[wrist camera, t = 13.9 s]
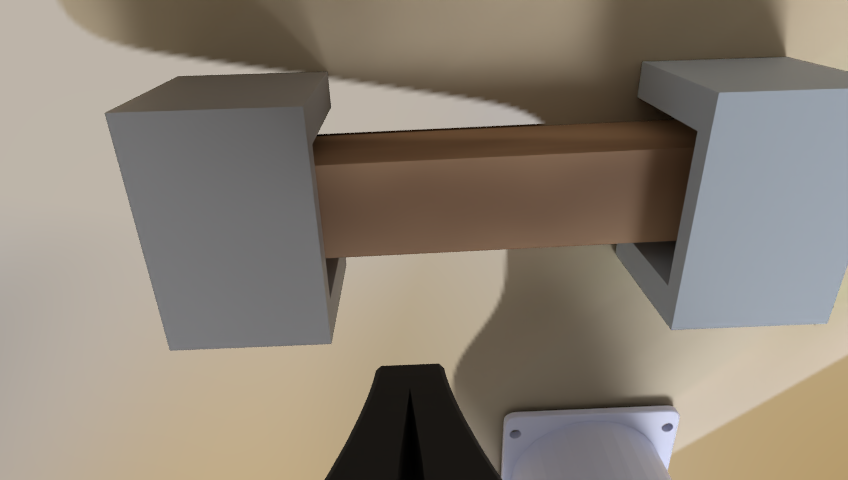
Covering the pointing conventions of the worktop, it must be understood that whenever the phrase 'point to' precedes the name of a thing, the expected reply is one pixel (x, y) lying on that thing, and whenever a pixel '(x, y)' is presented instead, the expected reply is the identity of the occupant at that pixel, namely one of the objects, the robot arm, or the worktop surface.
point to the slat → (501, 187)
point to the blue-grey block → (751, 194)
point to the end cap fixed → (231, 207)
